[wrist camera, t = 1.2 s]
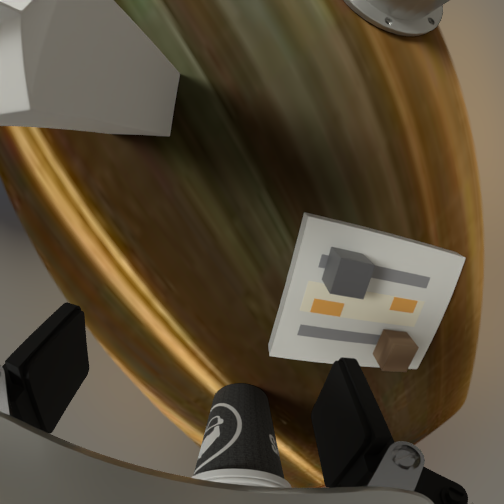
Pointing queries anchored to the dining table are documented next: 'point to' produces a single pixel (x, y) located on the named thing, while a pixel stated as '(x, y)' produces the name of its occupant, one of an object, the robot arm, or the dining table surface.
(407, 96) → the dining table surface
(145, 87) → the milk
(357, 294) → the dark gray slider
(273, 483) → the coffee cup
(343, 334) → the switch panel
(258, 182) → the dining table surface
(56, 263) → the dining table surface
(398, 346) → the walnut slider
